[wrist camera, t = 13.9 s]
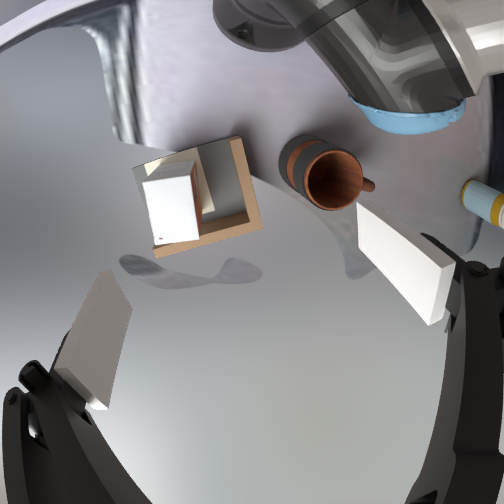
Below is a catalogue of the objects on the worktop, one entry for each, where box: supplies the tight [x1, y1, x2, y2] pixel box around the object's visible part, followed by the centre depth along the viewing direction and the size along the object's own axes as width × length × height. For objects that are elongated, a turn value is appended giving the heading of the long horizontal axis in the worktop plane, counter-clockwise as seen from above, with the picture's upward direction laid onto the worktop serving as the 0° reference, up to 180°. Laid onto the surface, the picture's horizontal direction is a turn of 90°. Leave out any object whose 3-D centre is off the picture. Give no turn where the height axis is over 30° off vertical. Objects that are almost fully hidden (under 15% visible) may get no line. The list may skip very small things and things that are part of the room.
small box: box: [142, 160, 202, 245], centre depth 35 cm, size 8×6×10 cm
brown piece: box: [132, 135, 263, 258], centre depth 38 cm, size 13×16×5 cm
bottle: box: [461, 180, 504, 229], centre depth 41 cm, size 7×7×15 cm
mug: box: [279, 136, 375, 211], centre depth 36 cm, size 9×12×12 cm
